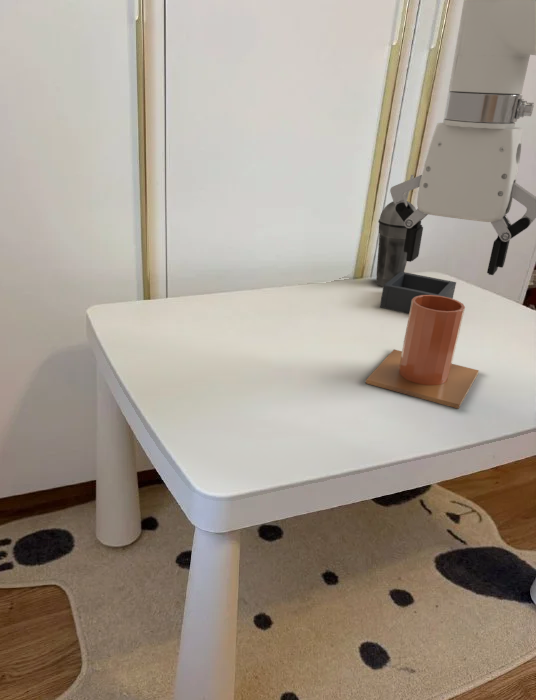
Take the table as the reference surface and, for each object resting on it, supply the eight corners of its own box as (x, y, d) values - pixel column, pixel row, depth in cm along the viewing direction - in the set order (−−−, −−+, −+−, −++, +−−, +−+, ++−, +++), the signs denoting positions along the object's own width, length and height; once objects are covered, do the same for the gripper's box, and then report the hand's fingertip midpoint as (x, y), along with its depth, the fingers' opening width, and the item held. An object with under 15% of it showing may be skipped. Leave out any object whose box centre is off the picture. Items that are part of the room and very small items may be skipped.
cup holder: (451, 303, 113) (456, 282, 111) (437, 320, 105) (442, 297, 103) (397, 292, 117) (400, 271, 115) (379, 307, 109) (383, 284, 107)
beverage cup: (362, 278, 123) (378, 171, 114) (396, 277, 125) (415, 171, 116) (378, 290, 117) (397, 177, 108) (414, 289, 119) (435, 178, 110)
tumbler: (452, 372, 86) (469, 301, 81) (441, 389, 81) (458, 315, 76) (406, 360, 88) (420, 291, 83) (392, 376, 83) (406, 304, 78)
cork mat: (478, 374, 87) (479, 370, 86) (458, 409, 77) (459, 404, 77) (393, 352, 92) (393, 349, 91) (365, 383, 82) (366, 379, 82)
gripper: (569, 115, 68) (530, 270, 76) (412, 106, 76) (391, 248, 84) (563, 118, 63) (521, 285, 70) (393, 108, 70) (372, 261, 78)
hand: (451, 265), depth 77 cm, fingers open, 9 cm apart
